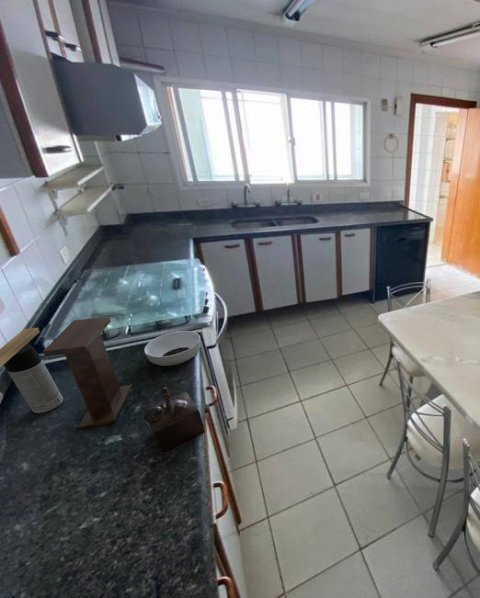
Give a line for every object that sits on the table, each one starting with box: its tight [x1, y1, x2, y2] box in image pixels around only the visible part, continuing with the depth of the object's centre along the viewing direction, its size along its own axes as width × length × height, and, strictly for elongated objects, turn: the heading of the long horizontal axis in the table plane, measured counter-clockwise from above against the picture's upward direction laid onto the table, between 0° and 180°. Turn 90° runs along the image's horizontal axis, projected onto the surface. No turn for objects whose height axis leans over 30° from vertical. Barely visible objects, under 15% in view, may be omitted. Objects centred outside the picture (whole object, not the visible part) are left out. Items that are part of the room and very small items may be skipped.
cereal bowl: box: [143, 330, 202, 367], centre depth 119 cm, size 17×17×7 cm
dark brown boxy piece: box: [143, 386, 206, 455], centre depth 84 cm, size 16×11×18 cm
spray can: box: [3, 342, 64, 414], centre depth 92 cm, size 7×7×20 cm
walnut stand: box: [42, 316, 133, 431], centre depth 92 cm, size 8×16×26 cm, turn 22°
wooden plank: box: [0, 327, 40, 369], centre depth 86 cm, size 3×20×2 cm, turn 22°
